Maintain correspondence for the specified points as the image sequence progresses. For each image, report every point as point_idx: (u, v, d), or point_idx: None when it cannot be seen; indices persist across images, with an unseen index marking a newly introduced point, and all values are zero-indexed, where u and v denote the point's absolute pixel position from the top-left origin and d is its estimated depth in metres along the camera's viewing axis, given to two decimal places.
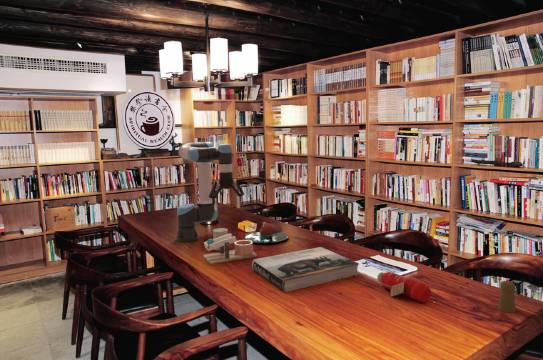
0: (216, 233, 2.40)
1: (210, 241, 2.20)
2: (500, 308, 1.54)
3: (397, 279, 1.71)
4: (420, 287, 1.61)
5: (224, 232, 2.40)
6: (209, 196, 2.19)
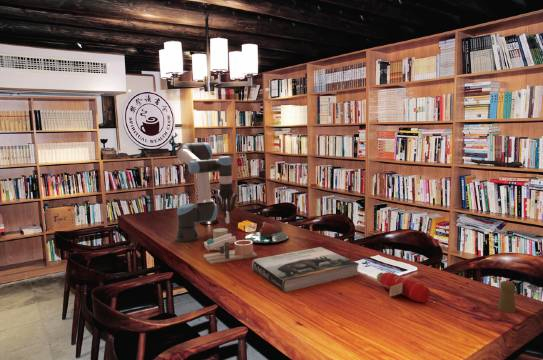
0: (216, 233, 2.40)
1: (210, 241, 2.20)
2: (500, 308, 1.54)
3: (396, 279, 1.70)
4: (418, 287, 1.61)
5: (224, 232, 2.40)
6: (221, 210, 2.31)
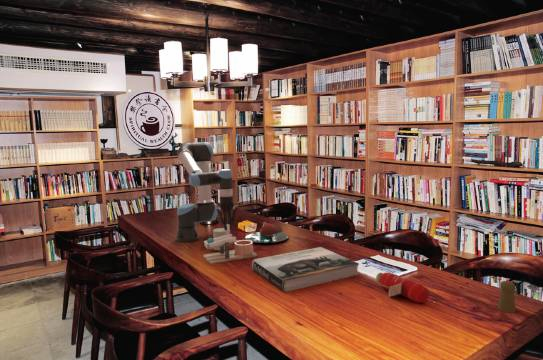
0: (216, 233, 2.40)
1: (210, 240, 2.20)
2: (500, 308, 1.54)
3: (395, 280, 1.70)
4: (417, 287, 1.60)
5: (224, 232, 2.40)
6: (221, 223, 2.32)
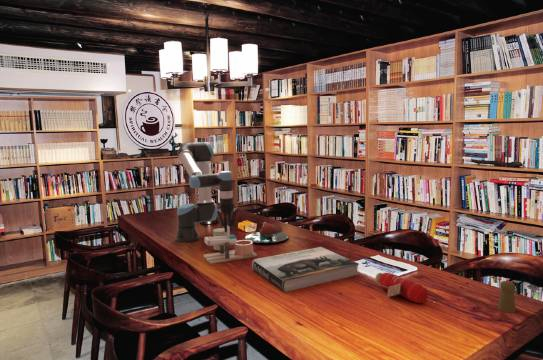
0: (216, 233, 2.40)
1: (232, 236, 2.25)
2: (500, 308, 1.54)
3: (394, 280, 1.70)
4: (416, 288, 1.60)
5: (224, 232, 2.40)
6: None
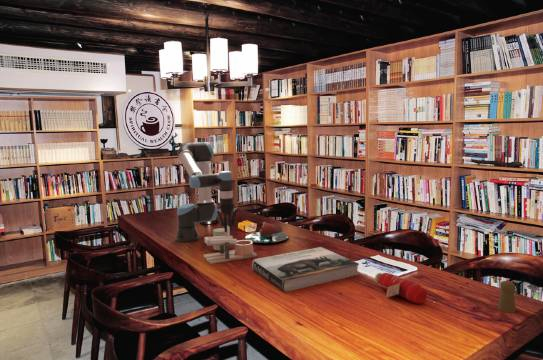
0: (216, 233, 2.40)
1: None
2: (500, 308, 1.54)
3: (393, 280, 1.70)
4: (415, 288, 1.60)
5: (224, 232, 2.40)
6: None
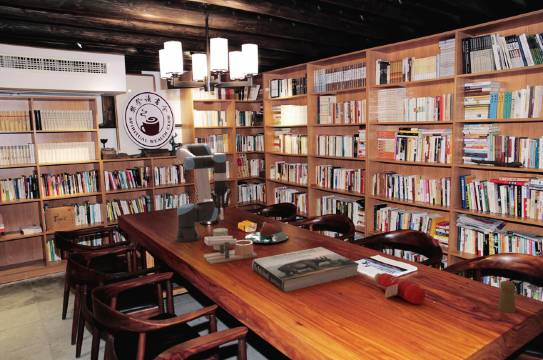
0: (216, 233, 2.40)
1: None
2: (500, 308, 1.54)
3: (392, 280, 1.69)
4: (413, 289, 1.59)
5: (224, 232, 2.40)
6: (215, 207, 2.33)
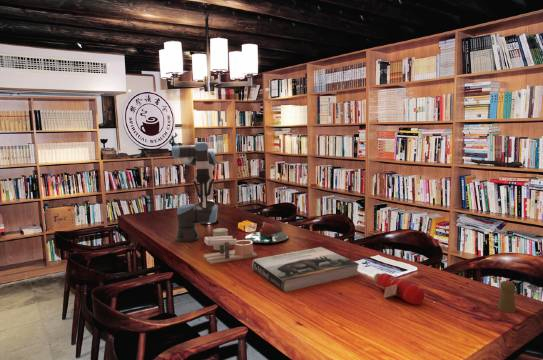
0: (216, 233, 2.40)
1: None
2: (500, 308, 1.54)
3: (391, 281, 1.69)
4: (412, 289, 1.59)
5: (224, 232, 2.40)
6: None
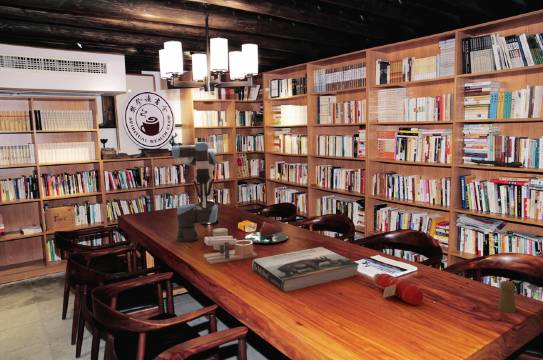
0: (216, 233, 2.40)
1: None
2: (500, 308, 1.54)
3: (390, 281, 1.69)
4: (411, 289, 1.59)
5: (224, 232, 2.40)
6: None
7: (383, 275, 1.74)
